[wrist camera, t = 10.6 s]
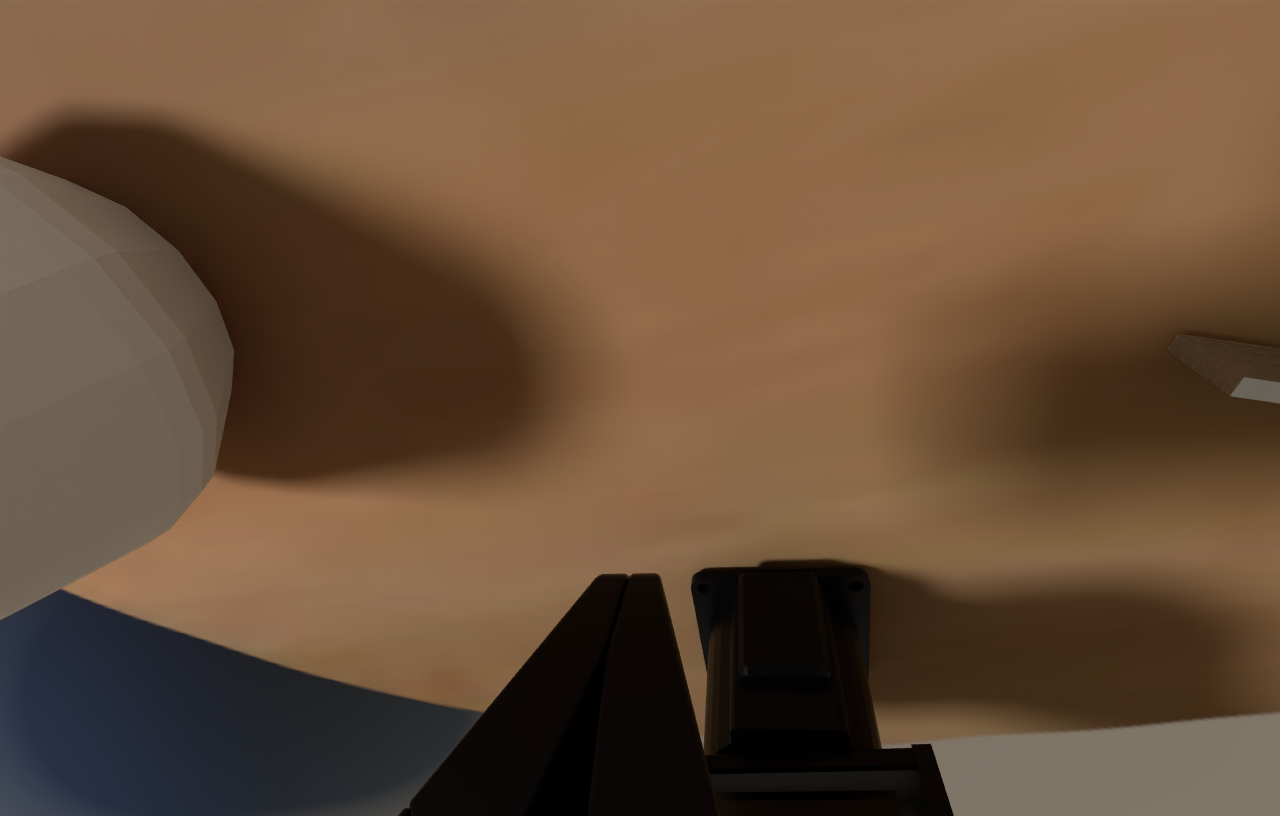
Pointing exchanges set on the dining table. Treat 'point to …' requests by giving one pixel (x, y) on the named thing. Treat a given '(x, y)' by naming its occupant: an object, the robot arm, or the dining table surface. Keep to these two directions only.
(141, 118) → the dining table surface
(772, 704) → the robot arm
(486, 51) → the dining table surface
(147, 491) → the cup
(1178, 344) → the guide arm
